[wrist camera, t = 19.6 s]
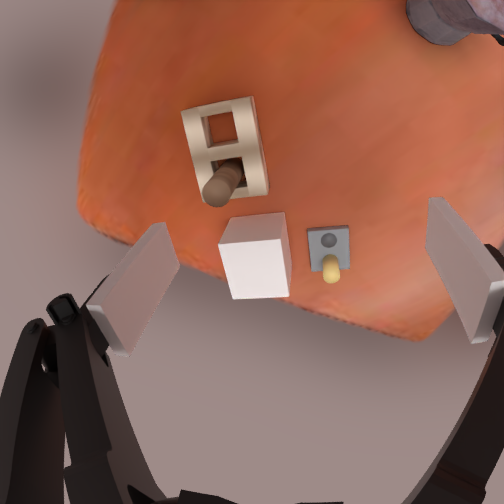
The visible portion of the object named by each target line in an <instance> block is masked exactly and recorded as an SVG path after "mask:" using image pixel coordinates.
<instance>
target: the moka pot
mask: <svg viewBox="0 0 504 504" xmlns="http://www.w3.org/2000/svg"><path fill="white" fill-rule="evenodd" d="M406 13H407V16H408V18H409V20H410V23H411V24H412V26H413V28H414V29H415V31H416V32H418V33H419V34H420V35H421V36H422V37H424V38H425V39H427V40H428V41H430V42H431V43H434V44H438V45H453V44H455V43H456V42H458V41H459V40H461V39H463V38H464V37H466V36H467V35H469V34H470V33H474V34H491V35H492V36H493V37H494V38H495V39H496V40H497V41H498V43H499V44H500V45H502V46H504V38H503V37H501V36H500V35H504V0H407V4H406ZM499 34H500V35H499Z"/></svg>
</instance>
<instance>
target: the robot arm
mask: <svg viewBox="0 0 504 504" xmlns="http://www.w3.org/2000/svg"><path fill="white" fill-rule="evenodd" d="M425 249H426V251H427V252H428V254H429V256H430V258H431V260H432V262H433V264H434V265H435V267H436V269H437V271H438V273H439V275H440V277H441V279H442V281H443V283H444V285H445V287H446V289H447V291H448V293H449V295H450V297H451V299H452V301H453V304H454V306H455V308H456V310H457V312H458V314H459V317H460V319H461V321H462V323H463V326H464V328H465V330H466V333H467V335H468V337H469V340H470V342H471V344H473V343H478V342H484V341H488V339H489V337H490V334H491V332H492V329H493V330H494V332H495V334H496V336H497V337H496V339H495V341H494V344H493V346H492V348H491V350H490V353H489V355H488V359H487V361H486V364H485V367H484V369H483V371H482V373H481V375H480V378H479V380H478V382H477V384H476V386H475V388H474V391H473V392H472V395H471V397H470V399H469V401H468V403H467V405H466V407H465V408H464V410H463V412H462V414H461V416H460V418H459V420H458V421H457V423H456V425H455V427H454V428H453V430H452V432H451V434H450V435H449V437H448V439H447V441H446V442H445V444H444V445H443V447H442V449H441V450H440V452H439V454H438V455H437V456H436V458H435V459H434V461H433V462H432V464H431V465H430V467H429V468H428V470H427V471H426V473H425V474H424V476H423V477H422V478H421V480H420V481H419V482H418V484H417V485H416V486H415V488H414V489H413V491H412V492H411V493H410V494H409V496H408V497H407V498H406V499H405V500H404V502H403V503H402V504H482V502H483V500H484V498H485V494H486V491H485V486H486V483H487V481H488V479H489V477H490V475H491V473H492V472H493V470H494V468H495V466H496V463H497V461H498V459H499V457H500V455H501V453H502V451H503V448H504V257H503V255H502V254H501V253H500V252H499V250H497V249H496V248H495V247H493V246H492V245H490V244H483V243H482V242H481V241H480V239H479V238H478V237H477V236H476V235H475V233H474V232H473V231H472V230H471V229H470V227H469V226H468V225H467V224H466V223H465V221H464V220H463V219H462V218H461V217H460V216H459V214H458V213H457V212H456V211H455V210H454V209H453V208H452V207H451V206H450V204H449V203H448V202H447V201H446V200H445V199H444V198H443V197H434V198H429V205H428V221H427V233H426V244H425ZM179 267H180V265H179V262H178V259H177V256H176V253H175V250H174V247H173V244H172V241H171V238H170V235H169V232H168V229H167V226H166V223H165V222H162V223H154V224H152V225H151V226H150V227H149V228H148V230H147V231H146V232H145V233H144V234H143V235H142V236H141V238H140V239H139V240H138V241H137V242H136V243H135V245H134V246H133V247H132V248H131V249H130V250H129V252H128V253H127V254H126V255H125V256H124V258H123V259H122V260H121V261H120V262H119V264H118V265H117V266H116V267H115V269H114V270H113V271H112V272H111V273H110V274H109V275H108V276H106V277H105V278H104V279H103V280H102V281H101V282H100V284H99V285H98V286H97V288H96V289H95V290H94V291H93V293H92V294H91V295H90V296H89V297H88V299H87V300H86V301H85V303H84V304H83V305H82V307H81V308H80V309H79V307H78V306H77V303H76V302H75V300H74V298H73V296H72V295H71V294H69V293H66V294H62V295H59V296H58V297H56V298H54V299H53V300H52V301H51V302H50V303H49V304H48V306H47V308H46V311H47V312H48V314H49V316H50V317H51V319H52V320H53V322H54V324H55V325H52V326H48V327H47V325H46V323H45V322H44V320H43V319H41V318H37V319H34V320H31V321H30V322H28V323H27V325H26V326H25V327H24V328H23V330H22V332H21V335H20V338H19V340H18V343H17V346H16V349H15V351H14V354H13V357H12V360H11V363H10V366H9V370H8V372H7V376H6V379H5V382H4V386H3V389H2V393H1V397H0V504H64V480H65V484H66V488H67V492H68V496H69V500H70V504H237V503H234V502H232V501H229V500H226V499H224V498H221V497H219V496H214V495H208V494H202V493H197V492H191V491H186V490H181V491H180V495H179V497H174V498H166V496H165V495H164V494H163V492H162V491H161V490H160V489H159V488H158V486H157V484H156V483H155V481H154V479H153V476H152V474H151V472H150V470H149V468H148V465H147V463H146V461H145V458H144V456H143V454H142V452H141V449H140V446H139V444H138V442H137V439H136V436H135V434H134V431H133V428H132V426H131V423H130V421H129V418H128V415H127V412H126V409H125V406H124V403H123V400H122V397H121V394H120V391H119V388H118V385H117V382H116V379H115V375H114V372H113V369H112V365H111V362H110V358H109V356H108V355H107V353H106V350H107V348H108V346H110V347H111V348H112V350H113V352H114V353H115V355H120V356H130V355H131V353H132V351H133V350H134V347H135V346H136V344H137V342H138V340H139V338H140V337H141V335H142V333H143V331H144V329H145V327H146V325H147V324H148V321H149V320H150V318H151V316H152V314H153V313H154V311H155V309H156V307H157V306H158V304H159V302H160V300H161V298H162V297H163V295H164V293H165V292H166V290H167V288H168V286H169V284H170V283H171V281H172V279H173V278H174V276H175V274H176V273H177V271H178V269H179ZM41 364H43V366H44V367H45V372H44V370H43V368H42V365H41ZM65 432H66V438H67V443H68V448H69V453H70V458H71V466H68V467H65V469H64V446H65V445H64V444H65ZM297 504H343V502H327V503H326V502H324V503H297Z"/></svg>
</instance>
